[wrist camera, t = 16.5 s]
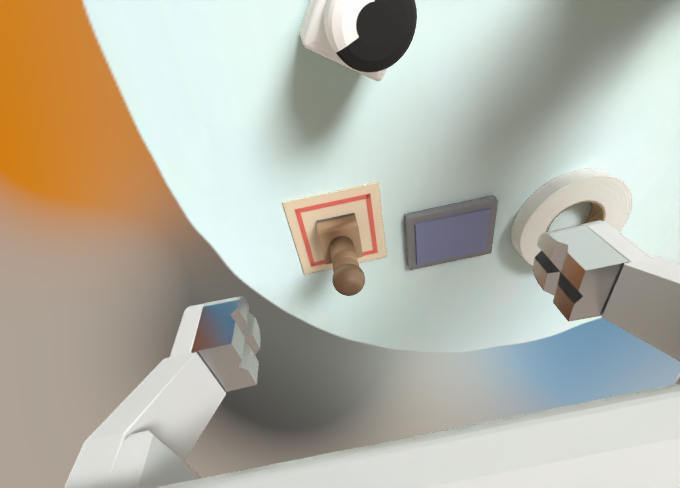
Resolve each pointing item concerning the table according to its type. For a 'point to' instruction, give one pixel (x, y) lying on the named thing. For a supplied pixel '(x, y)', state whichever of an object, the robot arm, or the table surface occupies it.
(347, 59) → the medicine bottle
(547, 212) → the roll of tape
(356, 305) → the table surface
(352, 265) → the walnut stamp
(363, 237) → the tan card
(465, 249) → the ink pad
